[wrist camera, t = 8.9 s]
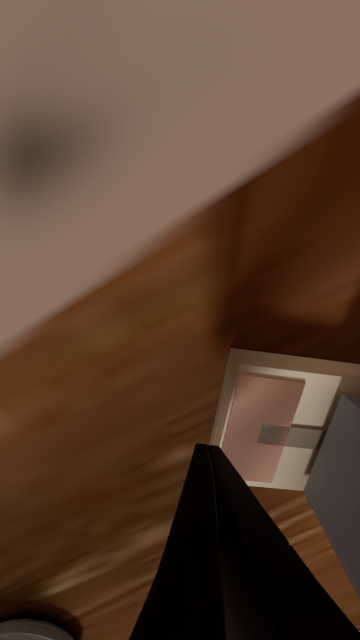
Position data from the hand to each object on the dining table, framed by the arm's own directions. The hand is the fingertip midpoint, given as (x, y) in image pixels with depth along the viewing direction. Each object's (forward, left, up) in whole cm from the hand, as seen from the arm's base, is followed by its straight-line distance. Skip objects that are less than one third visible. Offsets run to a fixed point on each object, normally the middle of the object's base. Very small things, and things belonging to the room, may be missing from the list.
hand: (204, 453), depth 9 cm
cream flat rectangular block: (-7, 0, -3) cm, 7 cm away
